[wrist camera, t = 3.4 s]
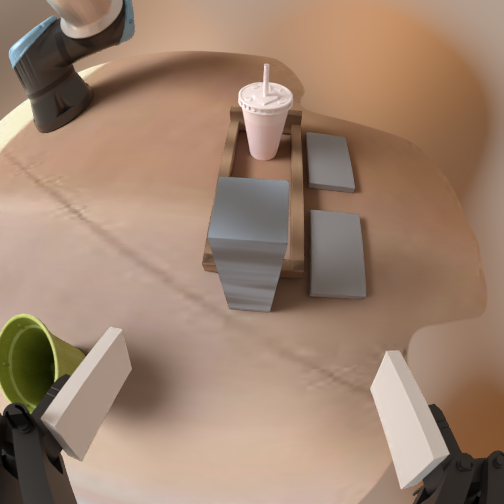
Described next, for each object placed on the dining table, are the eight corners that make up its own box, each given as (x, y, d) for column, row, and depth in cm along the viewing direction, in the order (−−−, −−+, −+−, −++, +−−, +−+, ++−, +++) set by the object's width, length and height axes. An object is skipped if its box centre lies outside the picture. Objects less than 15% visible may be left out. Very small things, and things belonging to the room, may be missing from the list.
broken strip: (305, 136, 38) (306, 131, 38) (344, 141, 38) (345, 137, 37) (309, 296, 28) (311, 293, 27) (363, 298, 28) (366, 296, 27)
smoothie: (237, 165, 36) (231, 73, 23) (243, 134, 39) (241, 50, 26) (285, 170, 35) (297, 78, 23) (287, 138, 38) (297, 54, 26)
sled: (232, 125, 39) (227, 38, 26) (298, 129, 39) (311, 42, 25) (199, 305, 27) (152, 233, 14) (299, 313, 27) (345, 247, 14)
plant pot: (121, 381, 24) (75, 378, 16) (73, 427, 21) (23, 433, 13) (76, 317, 27) (29, 293, 19) (34, 363, 24) (-15, 351, 16)
